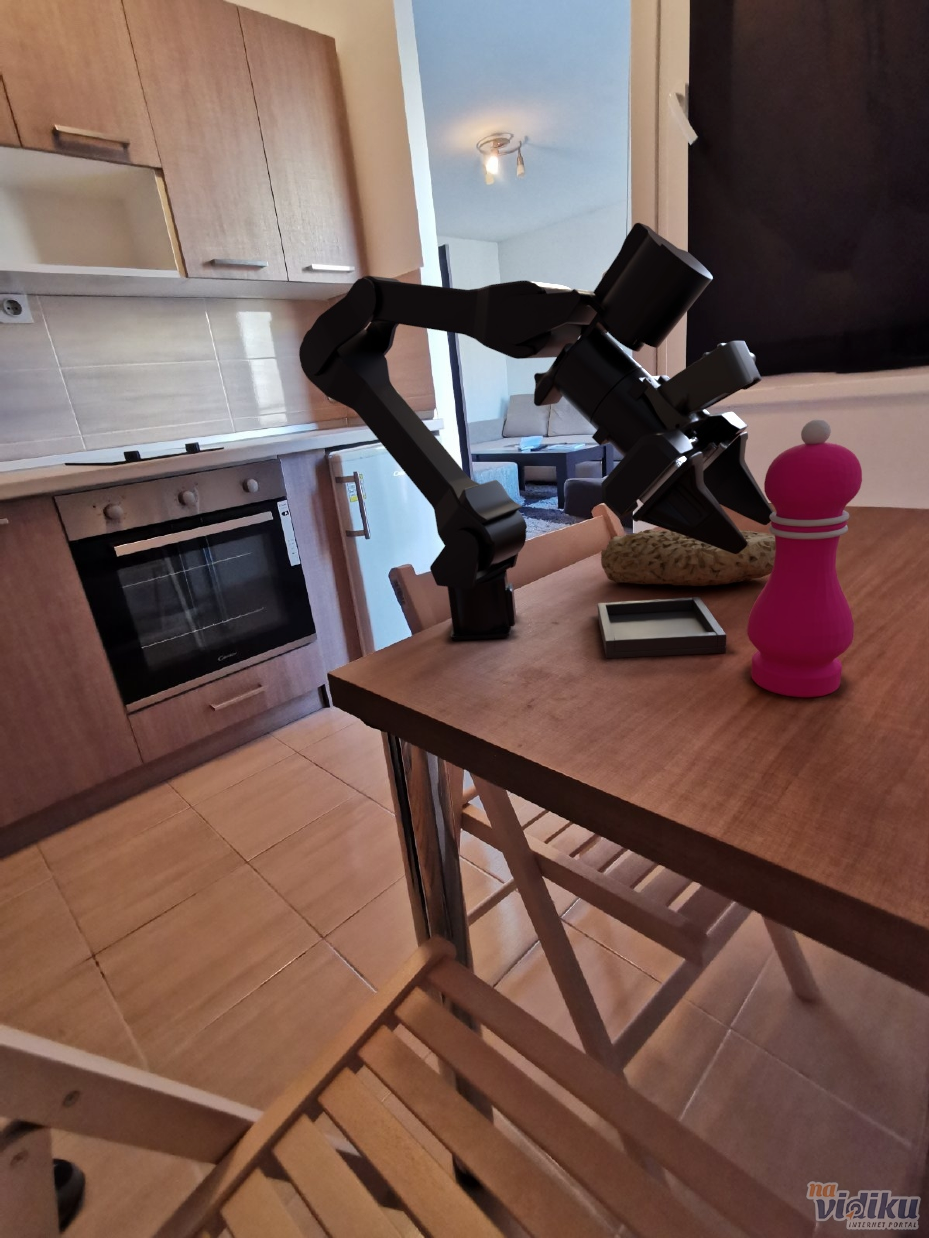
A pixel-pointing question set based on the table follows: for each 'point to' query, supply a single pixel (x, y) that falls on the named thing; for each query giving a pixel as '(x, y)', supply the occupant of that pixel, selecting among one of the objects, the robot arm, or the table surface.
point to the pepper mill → (805, 569)
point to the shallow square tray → (659, 628)
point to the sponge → (685, 559)
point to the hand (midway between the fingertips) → (757, 534)
